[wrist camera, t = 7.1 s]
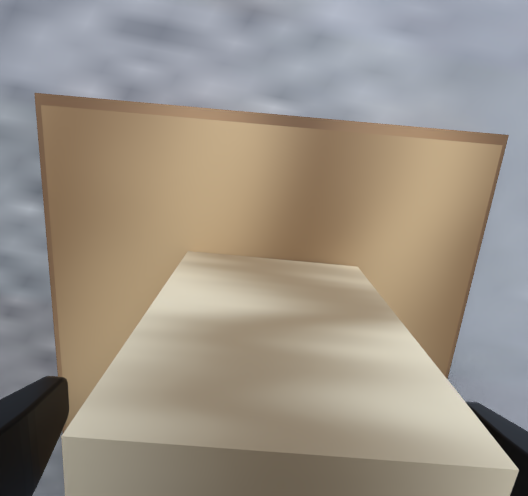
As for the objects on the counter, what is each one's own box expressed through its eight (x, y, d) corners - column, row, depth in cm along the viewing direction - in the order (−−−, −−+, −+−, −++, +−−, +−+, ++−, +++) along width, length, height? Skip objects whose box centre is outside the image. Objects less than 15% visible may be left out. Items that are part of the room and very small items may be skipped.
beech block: (357, 266, 11) (518, 469, 4) (332, 409, 12) (421, 738, 5) (187, 251, 11) (61, 435, 4) (181, 397, 12) (79, 722, 5)
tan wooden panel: (473, 136, 12) (516, 134, 10) (400, 456, 15) (422, 500, 14) (66, 100, 11) (27, 91, 9) (87, 444, 15) (62, 488, 13)
